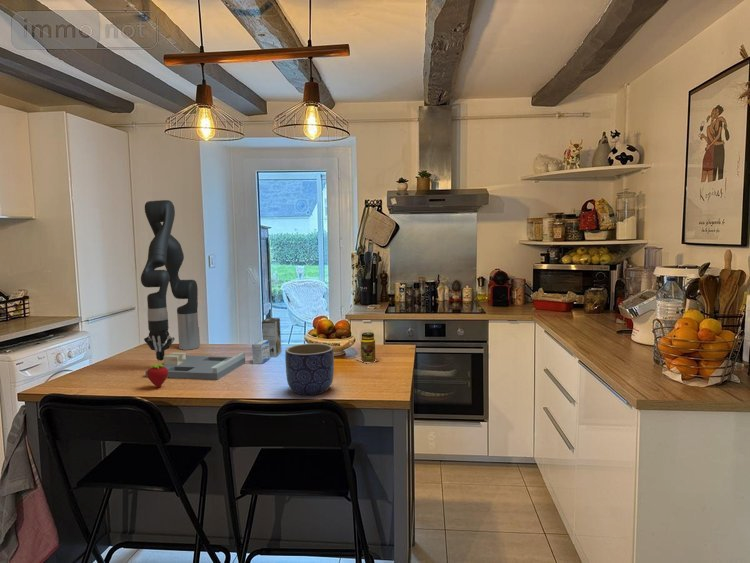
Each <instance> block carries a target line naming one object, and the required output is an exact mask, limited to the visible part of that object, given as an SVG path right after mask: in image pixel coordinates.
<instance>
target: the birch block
mask: <svg viewBox="0 0 750 563" xmlns="http://www.w3.org/2000/svg"><path fill="white" fill-rule="evenodd" d="M186 354H187V353H186V352H170V353H168V354H164V355H165V356H164V360H163V363H164V365H179V364H181V363H183V362H185V361H186Z"/></svg>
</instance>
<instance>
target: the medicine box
mask: <svg viewBox="0 0 750 563" xmlns="http://www.w3.org/2000/svg"><path fill="white" fill-rule="evenodd" d="M251 351H252V364H254V365H255V364H256V365H263V364H265V363H266V362H268V361H270V360H271V357H270V351H269V340H263V339H260V340H258V341H256V342H254V343H251Z"/></svg>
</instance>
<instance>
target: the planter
mask: <svg viewBox="0 0 750 563" xmlns="http://www.w3.org/2000/svg"><path fill="white" fill-rule="evenodd" d="M284 351H285V353H284V354H285V355H284V356H285V357H284V358H285V374H286V376H285V377H286V381H287V385H288V386H289V388H290V389H291V391H293V392H294V393H295V394H298V393H299V395H302V394H314V395H319V394H322V393H325V392H326V391H327V390H329V388H330V387H331V386H332V383H333V381H334V376H335V375H334V374H335V373H334V372H335V358H334V347H333V346H332V345H330V344H326V343H319V342H318V343H316V342H315V343H314V342H313V343H310V342H307V343H301V344H295V345H291V346H289V347H287V348H286V349H285V350H284Z"/></svg>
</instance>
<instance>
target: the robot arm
mask: <svg viewBox="0 0 750 563" xmlns="http://www.w3.org/2000/svg"><path fill="white" fill-rule="evenodd" d="M175 210H176V209H175V206H174V203H173V202H172V200H167V199H164V200H162V199H161V200H150V201H146V203H145V204H144V213H145V217H146V219H147V221H148V224H149V226H150V229H151V230H152V233H153V235H154V237H153V238H152V239H151V241H150V243H149V246H148V252H147V261H146V263H145V266H144V268H143V270H142V273H141V275H140V283H141V285H142V286H143V287H144V288H158V290H157V291H156V292H152V293H149V294H148V295H147V296H146V297H147V298H146V301H147V327H148V331H149V332H148V336H147V337H145V338H144V339H143V341H144V342H145V343H146V345H147V346H148V347H149V348H150V350H152V351H155V356H156V360H157V362H158V361H159V362H160V361H164V356H165V355H166V354H165V351H166V350H169V349H170V347H171V345H172V344H173V343H174V341H175V339H176V338H175V337H171V335H170V332H169V314H168V313H169V312H168V308H167V307H168V306H167V291H168V287H169V284H170V290H171V293H172V295H173V298H175V299H178V300H187V303H185V304H183V305H180V306H178V307H177V308H176V316H177V334H178V347H179V348H178V349H179V350H182V349H183V350H184V351H186V350H188V351H189V350H194V349H198V348H200V346H201V341H200V326H199V317H198V309H199V308H198V304H199V303H198V301H199V300H198V295H199V293H198V290H199V289H198V283H197V281H196V280H194V279H180V276H179V272H180V269H181V267H182V265H183V261H184V259H185V255H184V252H183V247H182V245H181V244H180V241H179V240H178V239H177V238H175V237H174V235H172V229H173V224H174V221H175V217H176V214H175V213H176V211H175ZM163 267H165V269H159V268H163ZM157 268H158V269H157Z"/></svg>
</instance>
